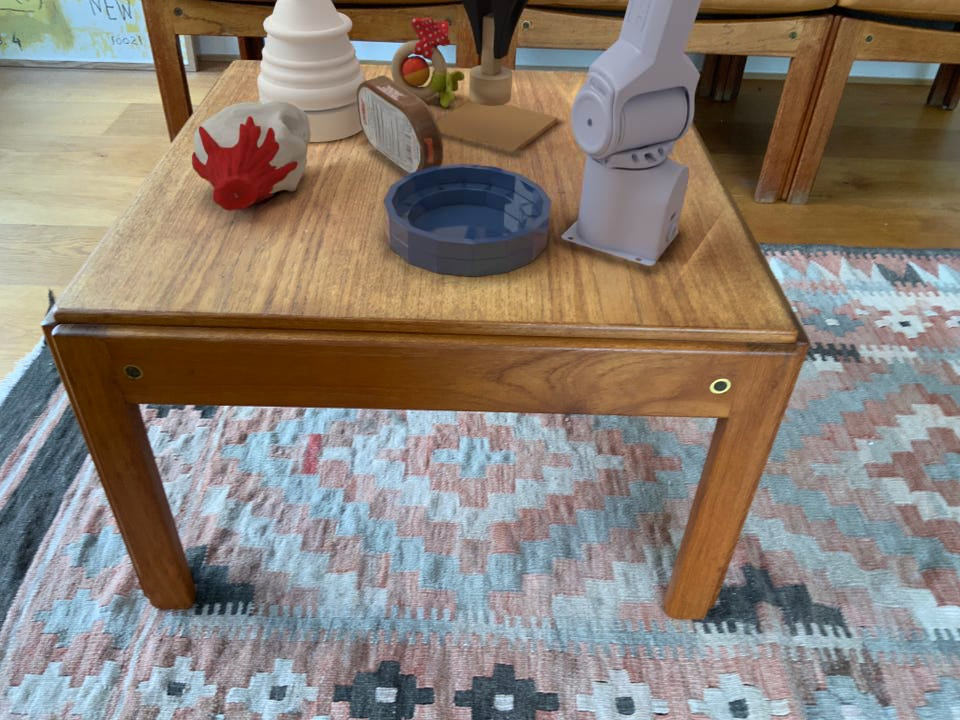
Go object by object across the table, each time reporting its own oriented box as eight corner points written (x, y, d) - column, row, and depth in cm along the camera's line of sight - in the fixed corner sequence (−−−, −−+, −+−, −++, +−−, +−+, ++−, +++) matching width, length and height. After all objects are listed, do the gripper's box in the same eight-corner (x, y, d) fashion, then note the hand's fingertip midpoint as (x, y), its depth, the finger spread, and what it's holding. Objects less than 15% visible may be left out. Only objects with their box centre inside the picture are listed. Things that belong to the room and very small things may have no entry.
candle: (315, 158, 87) (303, 241, 77) (212, 156, 86) (185, 241, 76) (307, 81, 81) (292, 161, 71) (195, 79, 80) (163, 160, 70)
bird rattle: (408, 126, 102) (472, 101, 99) (369, 44, 95) (437, 15, 93) (412, 108, 107) (474, 84, 104) (376, 29, 100) (441, 1, 98)
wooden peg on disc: (518, 96, 90) (523, 14, 85) (498, 109, 87) (502, 25, 82) (482, 87, 92) (485, 6, 87) (461, 99, 89) (463, 16, 83)
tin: (445, 185, 85) (446, 109, 79) (420, 192, 83) (419, 115, 78) (378, 135, 94) (374, 64, 89) (354, 141, 93) (349, 69, 87)
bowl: (572, 226, 79) (577, 189, 76) (498, 300, 68) (500, 261, 66) (441, 186, 84) (441, 151, 82) (353, 249, 74) (350, 211, 71)
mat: (557, 122, 99) (557, 117, 99) (513, 155, 91) (513, 150, 91) (475, 101, 104) (475, 96, 103) (426, 131, 96) (426, 126, 95)
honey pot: (370, 140, 93) (361, -24, 82) (259, 143, 91) (234, -24, 80) (366, 100, 103) (357, -52, 91) (265, 102, 101) (244, -53, 89)
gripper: (581, -81, 78) (567, 57, 87) (457, -100, 83) (455, 32, 92) (551, -70, 73) (538, 76, 82) (421, -90, 79) (422, 48, 87)
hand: (492, 54), depth 87 cm, fingers closed on wooden peg on disc
